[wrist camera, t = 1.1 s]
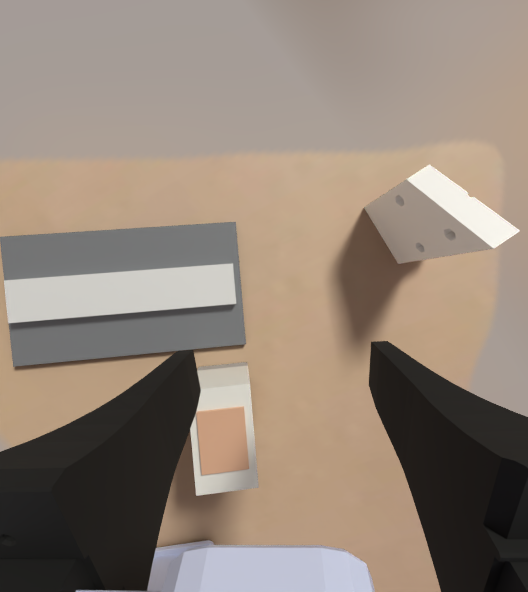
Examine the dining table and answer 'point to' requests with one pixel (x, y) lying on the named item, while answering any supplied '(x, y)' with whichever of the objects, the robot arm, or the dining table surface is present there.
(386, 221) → the white angled block
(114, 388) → the dining table surface
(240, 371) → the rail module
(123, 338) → the din rail
